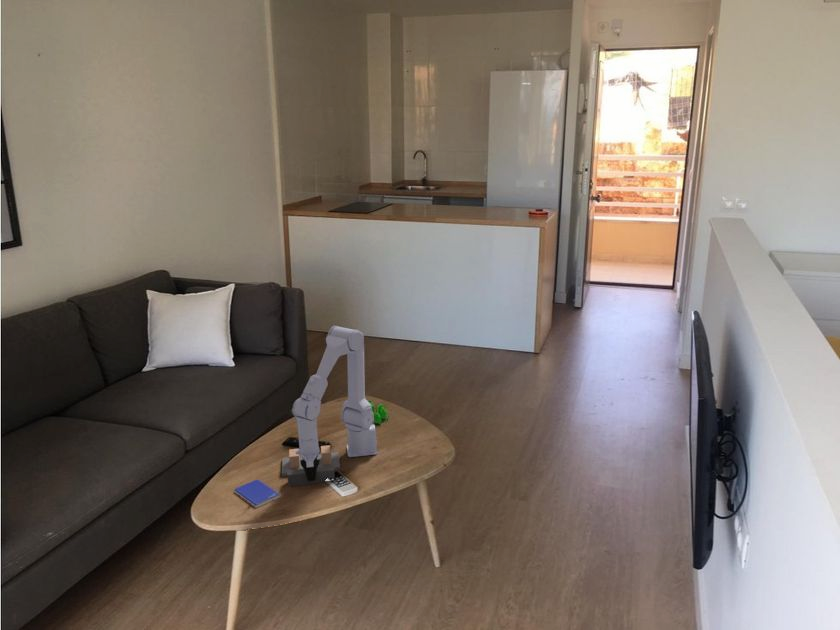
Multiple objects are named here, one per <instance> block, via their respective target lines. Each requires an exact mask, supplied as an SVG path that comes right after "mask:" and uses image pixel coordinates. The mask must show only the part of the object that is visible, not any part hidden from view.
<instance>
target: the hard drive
mask: <svg viewBox="0 0 840 630" xmlns="http://www.w3.org/2000/svg"><path fill="white" fill-rule="evenodd" d="M234 493H235V494H236V495H238V496H239V495H240V496H239V497H241V498H242V499H243V498H244V501H246V500H247V501H246V502H248V503H249V504H250V503H251V504H250V505H252V507H254V508H256V509H257V508H259V507H261V506H264V505H266V504H268V503H270V502H272V500H273V501H274V500H277V499H279V498H281V493H279V492H277V491H276V490H274V489H273V488H272V487H270V486H269V485H267V484H266V483H264V482H263V481H262V480H260V479H258V478H257V479H254V480H253V481H250V482H248V483H245V484H242V485H241V486H238V487H236V488H235V489H234Z"/></svg>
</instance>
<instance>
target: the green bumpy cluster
mask: <svg viewBox="0 0 840 630" xmlns="http://www.w3.org/2000/svg"><path fill="white" fill-rule="evenodd" d="M367 401H368V402H369V403H370V404H371V405H372V412H373V414H374V421H373V422H374V423H375V424H378V425H381V424H382V420H388V418H389V417H390V412H389V410H387V407H386V405H384V404H382V403H381V404H378V405H377V407H376V409H375V404H373V402H372V401H371V400H367ZM387 414H388V416H387Z"/></svg>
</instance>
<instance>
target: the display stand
mask: <svg viewBox="0 0 840 630" xmlns="http://www.w3.org/2000/svg"><path fill="white" fill-rule="evenodd" d="M331 448H332V447H331V445H321V446H320V453H319V454H318V456H317V459H319V460H320V462H319V465H318V467H322V466H331V465H334V471H340V470H341V464H340V463H341V462H340V455H339V451H335V452H332V451H331ZM297 449H298V448H293V449H291V448H289V451H288V455H289V456H288V457H282V460H281V461H282V463H281V465H282V466H281V467H282V468H281V476H282V477H285V476H286V475H287V470H295V469H303V467H302V466H301V463H300V460H303V458H302V456H301V455H300V454H296V450H297Z"/></svg>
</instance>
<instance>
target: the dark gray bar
mask: <svg viewBox="0 0 840 630" xmlns="http://www.w3.org/2000/svg"><path fill="white" fill-rule="evenodd" d="M335 475H336V474H335V470H334V465H331V466H322V467H317V471H316V478H315V481H308V480H307V477H306V473H305V470H304V469H295V470H287V485H288V487H295V486H304V485H313V484H320V483H322V484H323V483H326V482H325V480H326V479H327V478H335V479H336V476H335Z"/></svg>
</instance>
